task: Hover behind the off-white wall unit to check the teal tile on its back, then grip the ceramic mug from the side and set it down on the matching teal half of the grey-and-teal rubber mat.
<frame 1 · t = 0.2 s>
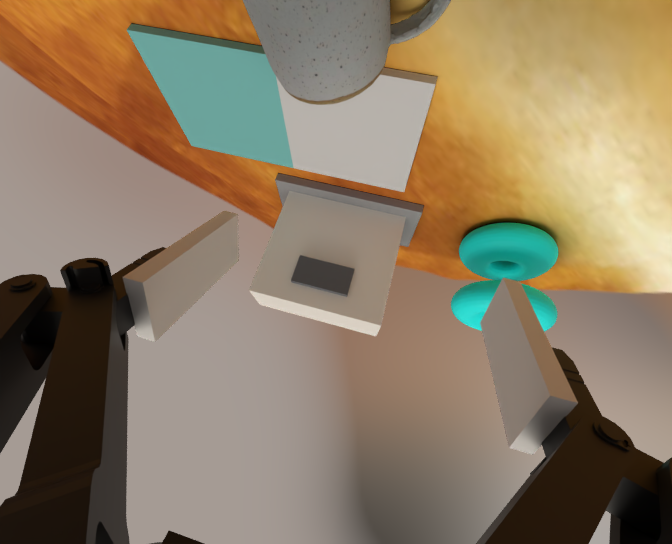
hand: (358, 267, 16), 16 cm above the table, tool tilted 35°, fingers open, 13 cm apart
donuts: (506, 240, 38), on the table
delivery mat: (287, 116, 30), on the table
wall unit: (348, 209, 40), on the table
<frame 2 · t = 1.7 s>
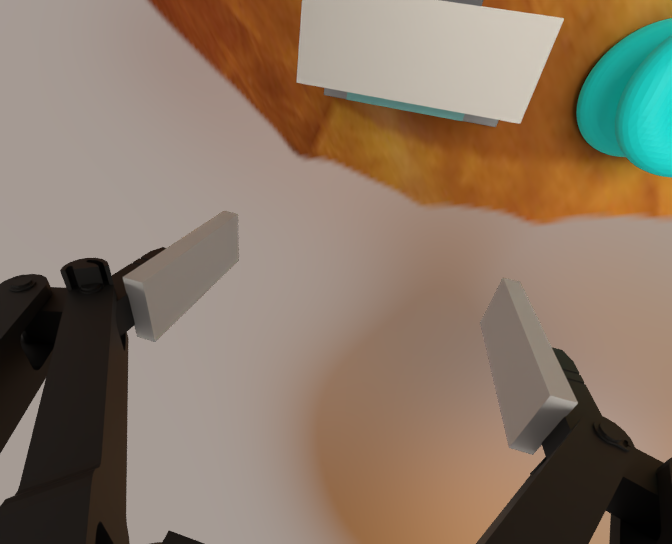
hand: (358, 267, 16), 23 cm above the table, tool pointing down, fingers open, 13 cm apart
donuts: (638, 92, 28), on the table
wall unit: (418, 62, 30), on the table
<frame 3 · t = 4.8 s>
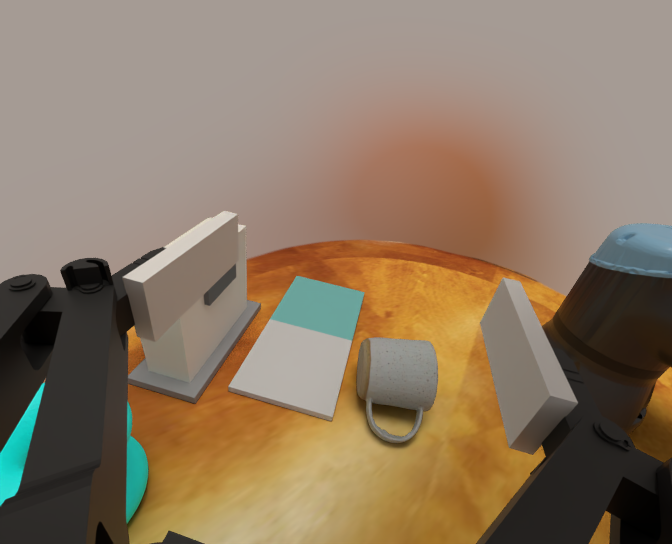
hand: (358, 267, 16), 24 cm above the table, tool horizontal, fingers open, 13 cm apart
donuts: (81, 502, 26), on the table
ceramic mug: (390, 402, 39), on the table
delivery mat: (309, 333, 46), on the table
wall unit: (204, 340, 42), on the table
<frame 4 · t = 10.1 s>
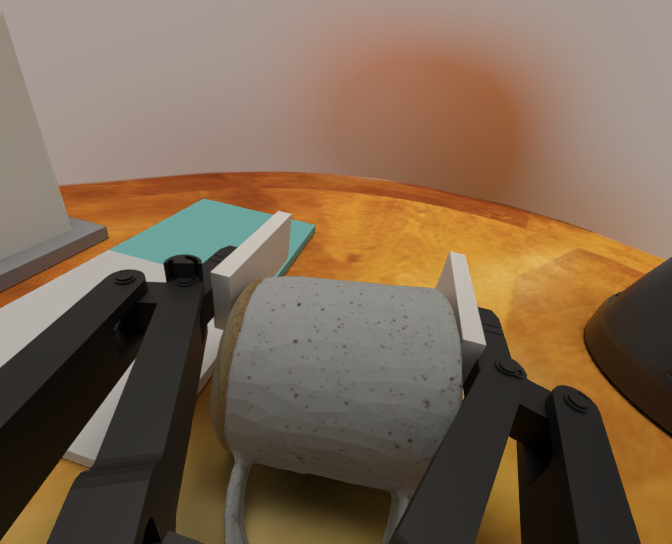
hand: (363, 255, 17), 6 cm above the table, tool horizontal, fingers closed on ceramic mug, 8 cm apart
ceramic mug: (326, 455, 14), on the table, touching gripper
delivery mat: (185, 279, 23), on the table
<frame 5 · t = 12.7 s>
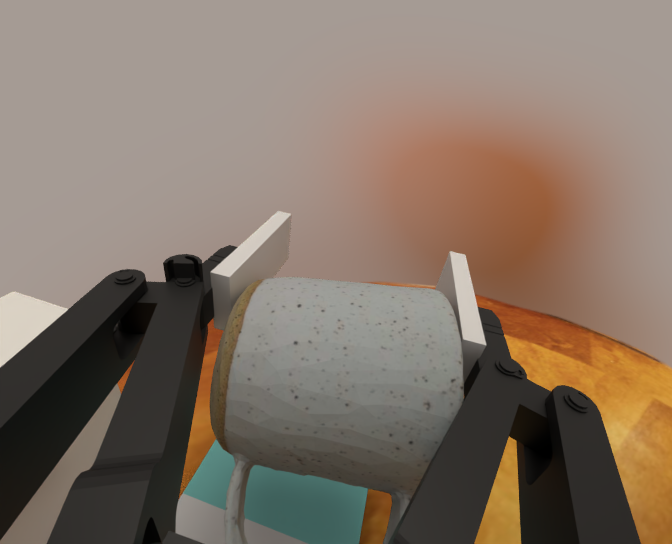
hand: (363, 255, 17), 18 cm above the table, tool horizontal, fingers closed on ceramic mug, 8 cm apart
ceramic mug: (326, 456, 14), point 12 cm above the table, touching gripper
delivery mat: (265, 531, 21), on the table
when the fingers open (8 cm above the table, at t = 15.3 s): ceramic mug drops 1 cm, resting on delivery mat.
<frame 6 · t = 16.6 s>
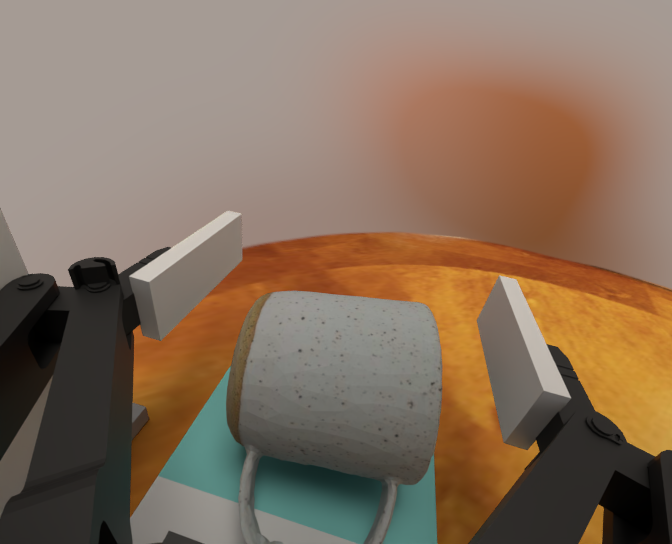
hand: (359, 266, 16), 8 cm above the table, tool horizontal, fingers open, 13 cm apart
ceramic mug: (325, 450, 16), point 1 cm above the table, touching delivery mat
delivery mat: (289, 529, 14), on the table
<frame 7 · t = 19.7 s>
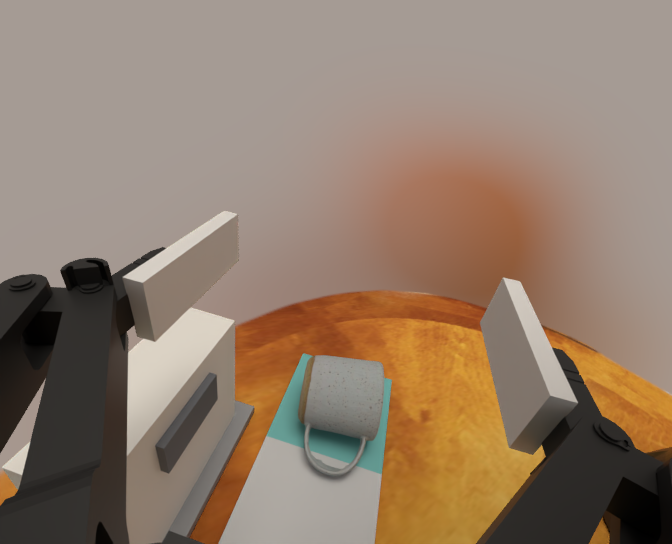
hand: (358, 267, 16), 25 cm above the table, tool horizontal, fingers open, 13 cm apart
ceramic mug: (336, 428, 35), point 1 cm above the table, touching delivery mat
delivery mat: (321, 459, 33), on the table
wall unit: (170, 479, 29), on the table
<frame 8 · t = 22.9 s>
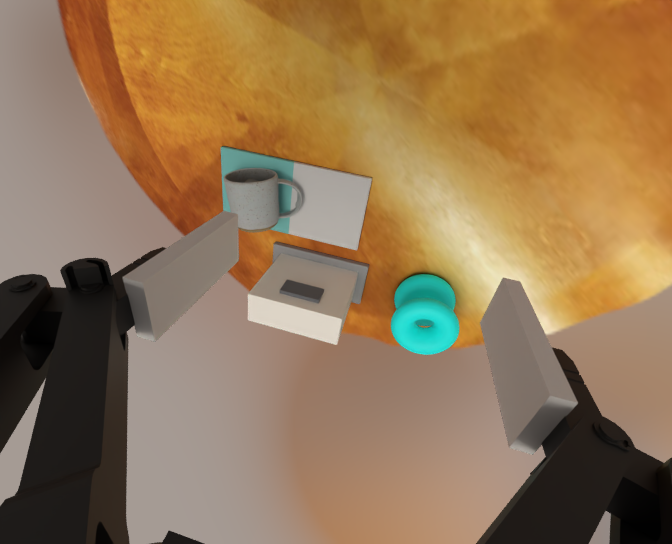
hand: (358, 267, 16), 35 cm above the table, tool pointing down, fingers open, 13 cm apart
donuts: (424, 295, 56), on the table
ceramic mug: (272, 191, 52), point 1 cm above the table, touching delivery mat
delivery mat: (292, 198, 53), on the table
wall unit: (319, 271, 59), on the table
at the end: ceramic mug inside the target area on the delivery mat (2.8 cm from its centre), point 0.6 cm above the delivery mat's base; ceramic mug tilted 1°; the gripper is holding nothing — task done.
